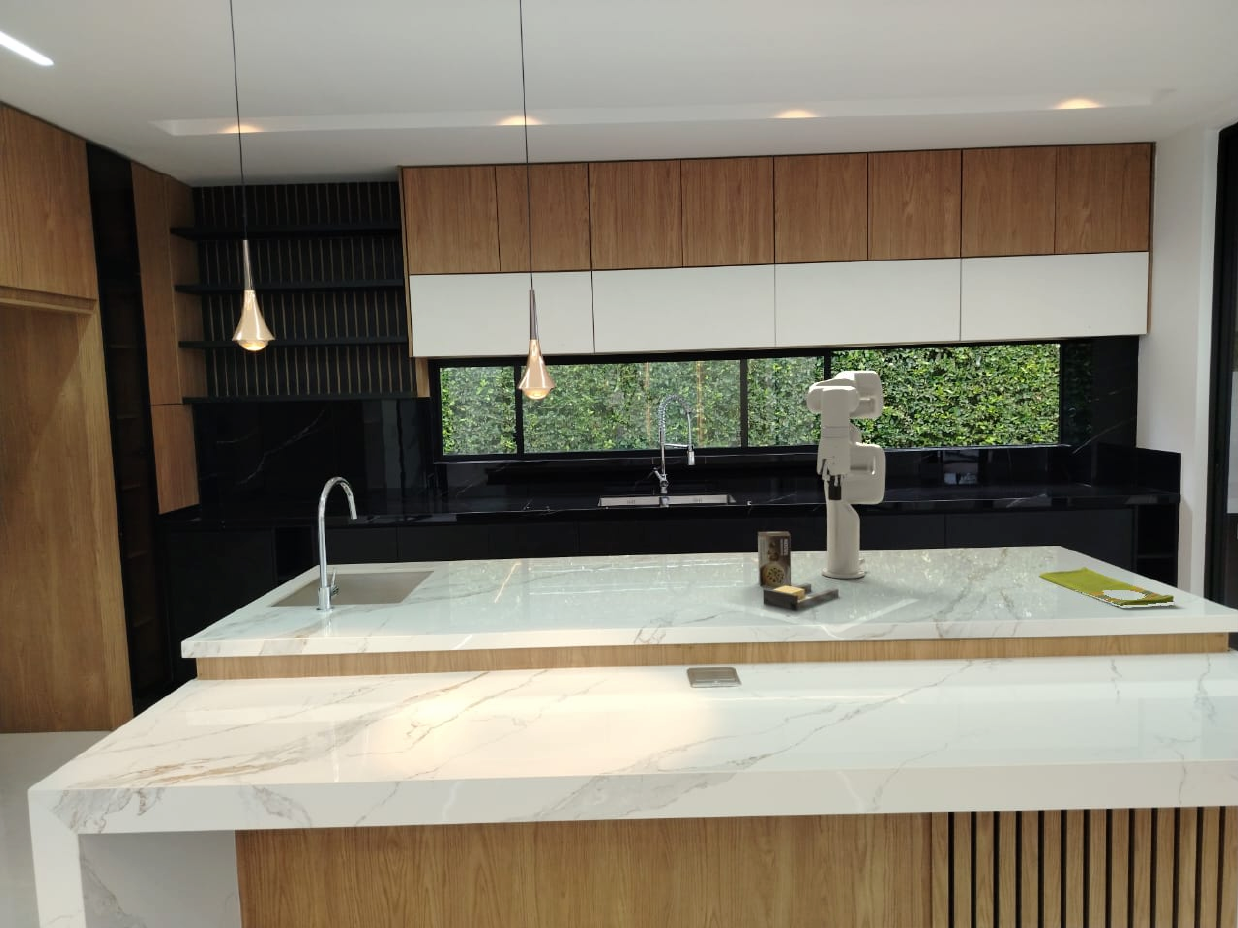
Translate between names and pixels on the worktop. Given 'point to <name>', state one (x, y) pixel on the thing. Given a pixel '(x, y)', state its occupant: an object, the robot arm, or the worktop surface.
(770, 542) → the coffee box
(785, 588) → the block
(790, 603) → the chute
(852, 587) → the worktop surface
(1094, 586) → the dish towel
